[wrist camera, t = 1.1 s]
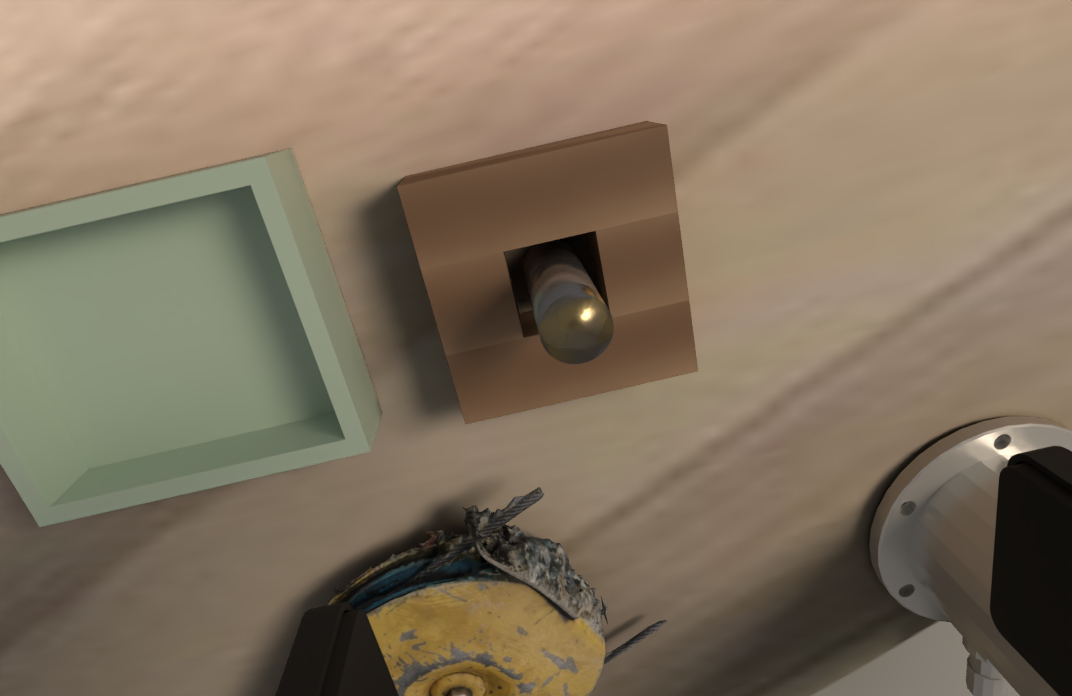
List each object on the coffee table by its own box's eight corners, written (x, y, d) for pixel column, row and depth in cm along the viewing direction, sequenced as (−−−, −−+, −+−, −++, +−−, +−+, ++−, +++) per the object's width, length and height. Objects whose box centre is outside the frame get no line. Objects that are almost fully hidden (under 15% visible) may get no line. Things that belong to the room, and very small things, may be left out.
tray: (382, 412, 30) (370, 451, 27) (86, 480, 30) (39, 527, 27) (291, 148, 26) (264, 156, 22) (-57, 227, 26) (-134, 247, 22)
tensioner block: (677, 344, 30) (698, 371, 27) (466, 393, 30) (465, 424, 27) (646, 121, 26) (667, 124, 24) (405, 176, 26) (396, 186, 24)
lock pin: (582, 286, 29) (619, 355, 21) (529, 298, 29) (547, 371, 21) (572, 233, 28) (607, 285, 20) (517, 245, 28) (532, 303, 20)
